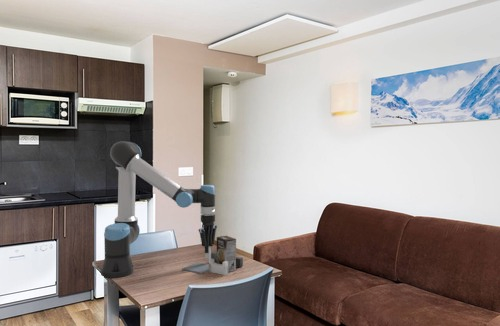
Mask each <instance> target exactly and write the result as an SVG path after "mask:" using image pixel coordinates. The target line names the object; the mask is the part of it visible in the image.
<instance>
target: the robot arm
mask: <svg viewBox="0 0 500 326" xmlns="http://www.w3.org/2000/svg"><path fill="white" fill-rule="evenodd" d="M138 145H139V144H136V143H135V142H132V141H122V140H121V141H118V142H115V143H114V144H113V145H112V146H111V147H110V151H109V156H110V158H111V160H112V161H113V162H114V163H115V169H116V170H117V171H118V179H117V181H118V189H117V190H118V191H117V193H118V194H117V216H116V218H114V223H113V224H109V225H107V226H106V227H105V228H104V232H103V236H104V260H103V263H102V267H101V268H100V276H102V277H104V278H121V277H126V276H129V275H131V274H133V273H134V269H135V268H134V265H133V261H132V259H131V254H130V253H131V252H130V251H131V248H130V247H131V244H132V243H134V242H135V241H136V240H137V239H138V238H139V236H140V230H141V229H140V226H139V225H138V220H139V219H138V217H136V215H135V214H136V179H137V177H136V175H137V176H138V177H140V178H141V179H143V180H144V181H145V182H147V183H148V184H149V185H151V186H153V187H154V188H155V189H157V190H159V191H160V192H161V193H163V194H164V195H166V196H167V197H168V198H170V199H171V200H173V202H175V203H176V204H177V206H178V207H180V208H184V209H185V208H188V207H190V206H191V205H192V204H200V214H201V215H200V222H201V223H202V224H201V228H199V229H198V233H199V236H200V242H201V246H202V247H204V259H205V260H209V259H211V252H212V247H213V246H214V244H215V240H216V231H217V229H218V226H217V225H215V222H216V191H215V189H216V188H215V185H213V184H203V185H200V187H199V188H195V189H194V188H184V187H182V186H181V185H179V184H178V183H176V182H175V181H174V180H173V179H171V178H169V177H168V176H166V175H165V174H163V173H162V172H161V171H159V170H158V169H157V168H155V167H154V166H152V165H151V164H149V163H148V162H147V161H146V160H144V159H143V158H141V157H142V150H141V147H140V146H138Z"/></svg>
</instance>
